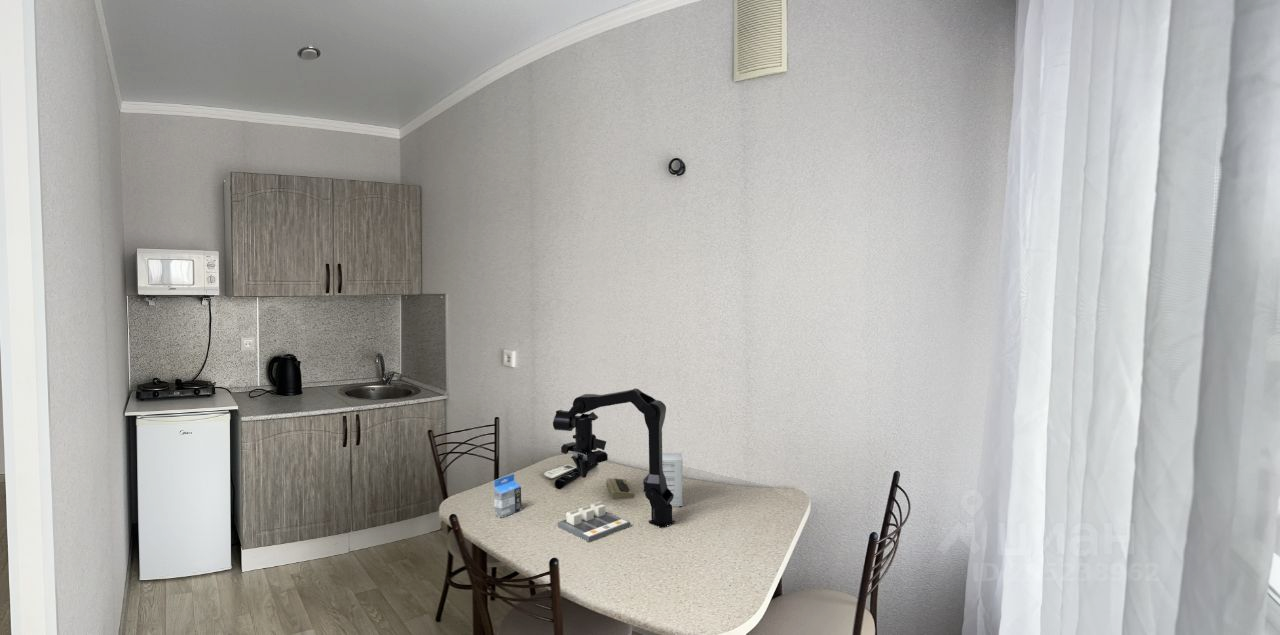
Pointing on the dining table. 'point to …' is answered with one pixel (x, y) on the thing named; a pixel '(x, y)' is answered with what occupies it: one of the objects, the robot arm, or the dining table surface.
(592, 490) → the dining table surface
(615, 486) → the computer
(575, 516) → the slider
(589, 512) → the slider middle
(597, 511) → the slider
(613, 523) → the switch panel
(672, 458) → the small drawer cabinet
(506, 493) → the label tape box
